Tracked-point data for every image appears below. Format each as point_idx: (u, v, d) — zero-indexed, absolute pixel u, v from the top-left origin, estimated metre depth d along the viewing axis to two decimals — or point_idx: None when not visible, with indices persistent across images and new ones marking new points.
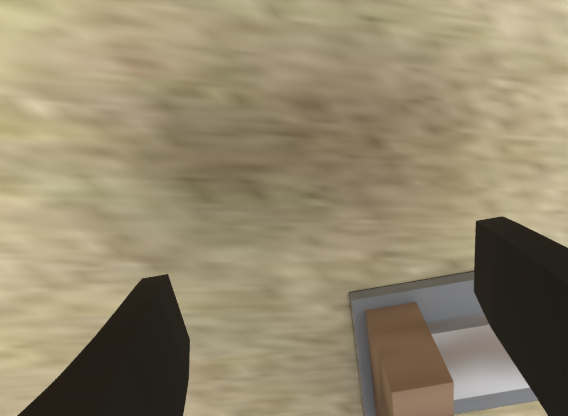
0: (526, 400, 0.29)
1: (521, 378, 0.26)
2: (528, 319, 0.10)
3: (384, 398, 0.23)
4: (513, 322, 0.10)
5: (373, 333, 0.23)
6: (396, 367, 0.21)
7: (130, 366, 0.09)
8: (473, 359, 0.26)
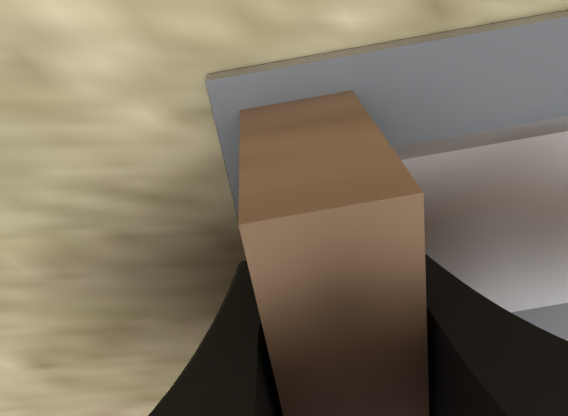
0: None
1: None
2: None
3: None
4: None
5: (241, 135, 0.10)
6: (270, 180, 0.08)
7: (261, 344, 0.09)
8: (479, 230, 0.12)
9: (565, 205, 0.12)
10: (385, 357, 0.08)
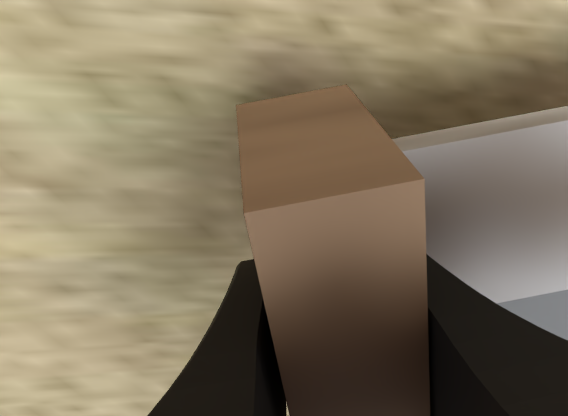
0: None
1: (564, 266, 0.13)
2: None
3: None
4: None
5: (239, 129, 0.10)
6: (271, 170, 0.08)
7: (260, 344, 0.09)
8: (472, 221, 0.12)
9: (555, 195, 0.12)
10: (387, 343, 0.08)
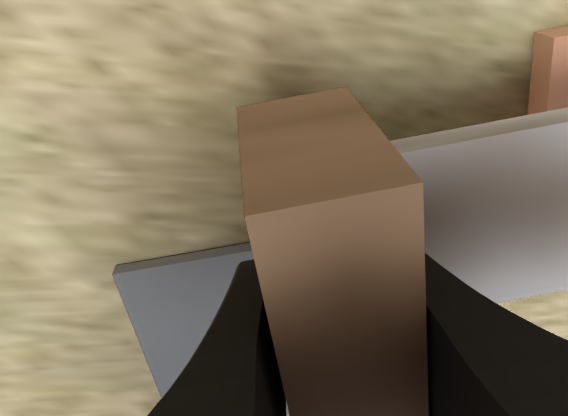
0: None
1: (563, 266, 0.13)
2: None
3: None
4: None
5: (240, 131, 0.10)
6: (271, 173, 0.08)
7: (261, 344, 0.09)
8: (470, 222, 0.12)
9: (553, 196, 0.12)
10: (386, 344, 0.08)
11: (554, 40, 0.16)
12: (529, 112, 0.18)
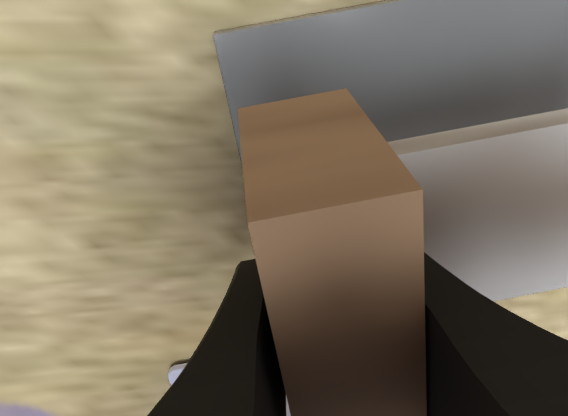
0: None
1: (559, 265, 0.14)
2: None
3: None
4: None
5: (241, 134, 0.10)
6: (273, 178, 0.08)
7: (261, 344, 0.09)
8: (469, 222, 0.13)
9: (550, 197, 0.12)
10: (385, 345, 0.08)
11: None
12: None
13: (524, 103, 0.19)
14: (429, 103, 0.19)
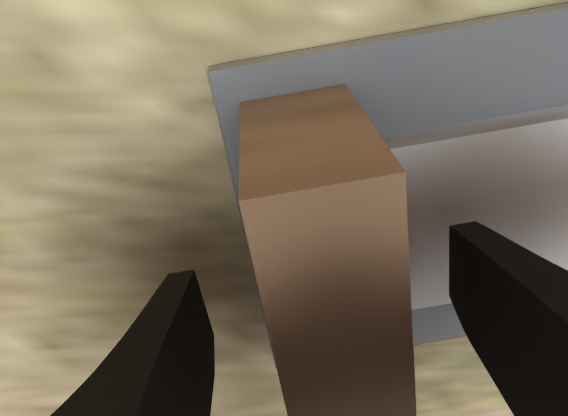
0: None
1: (557, 261, 0.14)
2: (497, 324, 0.10)
3: None
4: (484, 327, 0.10)
5: (241, 125, 0.10)
6: (267, 162, 0.09)
7: (165, 360, 0.09)
8: (465, 216, 0.13)
9: (546, 192, 0.13)
10: (373, 325, 0.09)
11: None
12: None
13: None
14: None
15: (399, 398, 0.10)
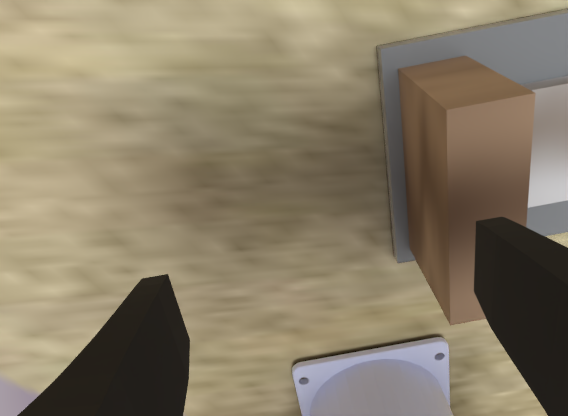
0: None
1: None
2: (528, 319, 0.10)
3: (428, 164, 0.17)
4: (513, 322, 0.10)
5: (412, 79, 0.17)
6: (448, 94, 0.15)
7: (130, 366, 0.09)
8: (541, 143, 0.19)
9: None
10: (507, 188, 0.15)
11: None
12: None
13: None
14: None
15: None
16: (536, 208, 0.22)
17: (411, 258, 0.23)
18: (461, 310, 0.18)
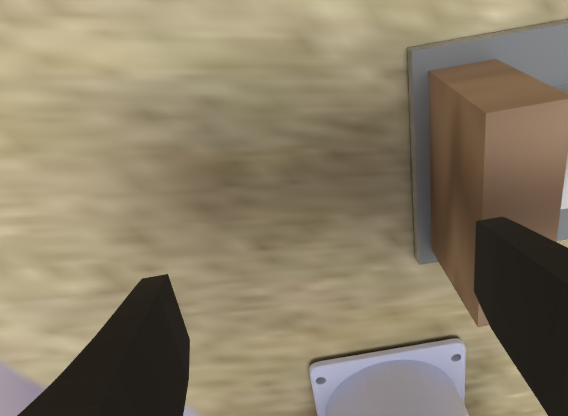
0: None
1: None
2: (528, 319, 0.10)
3: (460, 167, 0.17)
4: (513, 322, 0.10)
5: (444, 82, 0.17)
6: (485, 97, 0.15)
7: (130, 366, 0.09)
8: None
9: None
10: (541, 192, 0.15)
11: None
12: None
13: None
14: None
15: None
16: None
17: (433, 259, 0.23)
18: None
